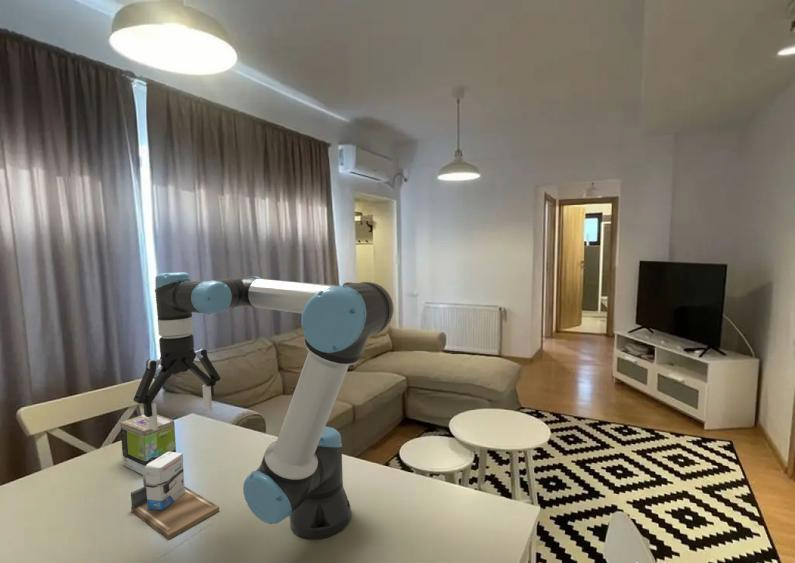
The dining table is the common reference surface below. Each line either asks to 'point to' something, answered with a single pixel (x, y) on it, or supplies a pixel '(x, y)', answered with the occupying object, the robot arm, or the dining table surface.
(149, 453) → the tea box
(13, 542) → the dining table surface
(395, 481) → the dining table surface
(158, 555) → the dining table surface
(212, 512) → the header board
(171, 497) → the ink box
